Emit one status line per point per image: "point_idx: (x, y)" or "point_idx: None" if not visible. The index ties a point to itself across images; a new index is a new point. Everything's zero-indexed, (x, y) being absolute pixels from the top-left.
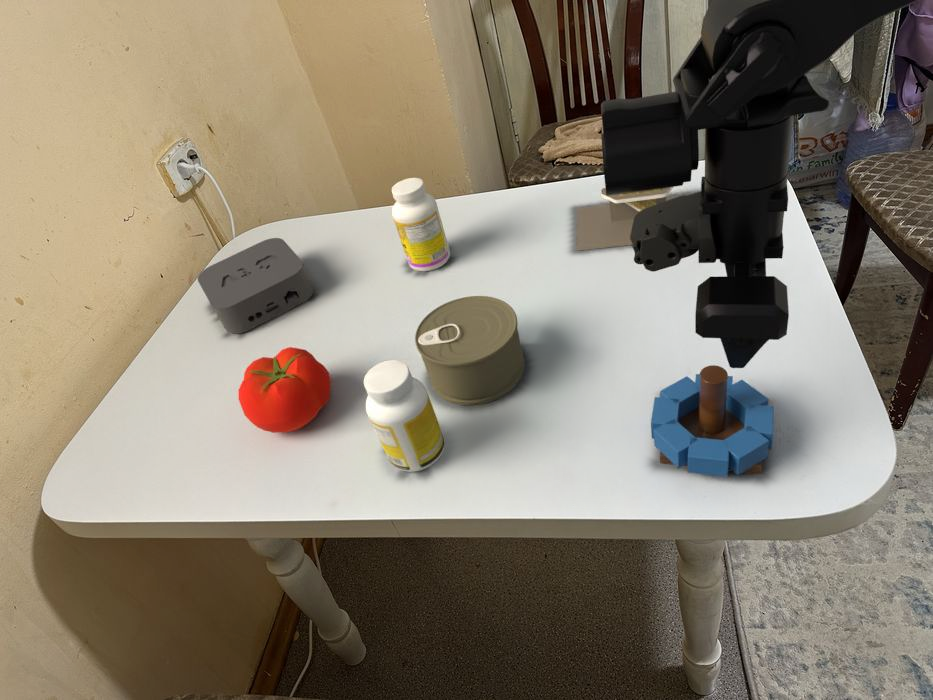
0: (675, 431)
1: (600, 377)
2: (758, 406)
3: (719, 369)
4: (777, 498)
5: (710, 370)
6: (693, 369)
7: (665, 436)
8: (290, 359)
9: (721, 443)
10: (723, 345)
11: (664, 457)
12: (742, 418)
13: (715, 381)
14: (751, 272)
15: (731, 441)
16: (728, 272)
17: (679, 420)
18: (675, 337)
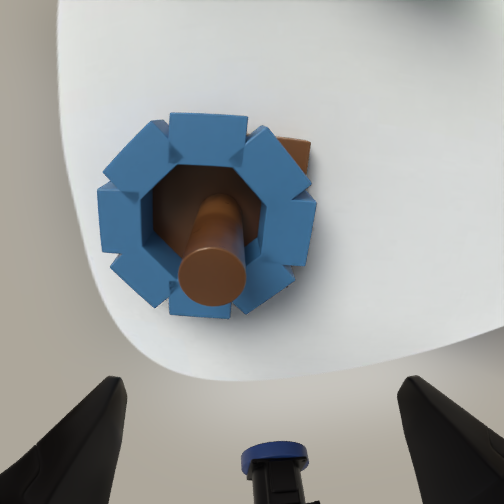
0: (149, 163)
1: (355, 28)
2: None
3: (228, 292)
4: (118, 283)
5: (225, 272)
6: (369, 185)
7: (135, 145)
8: None
9: (134, 243)
10: (29, 450)
11: None
12: None
13: (185, 281)
14: (424, 469)
15: (141, 258)
16: (457, 437)
17: None
18: (438, 165)
